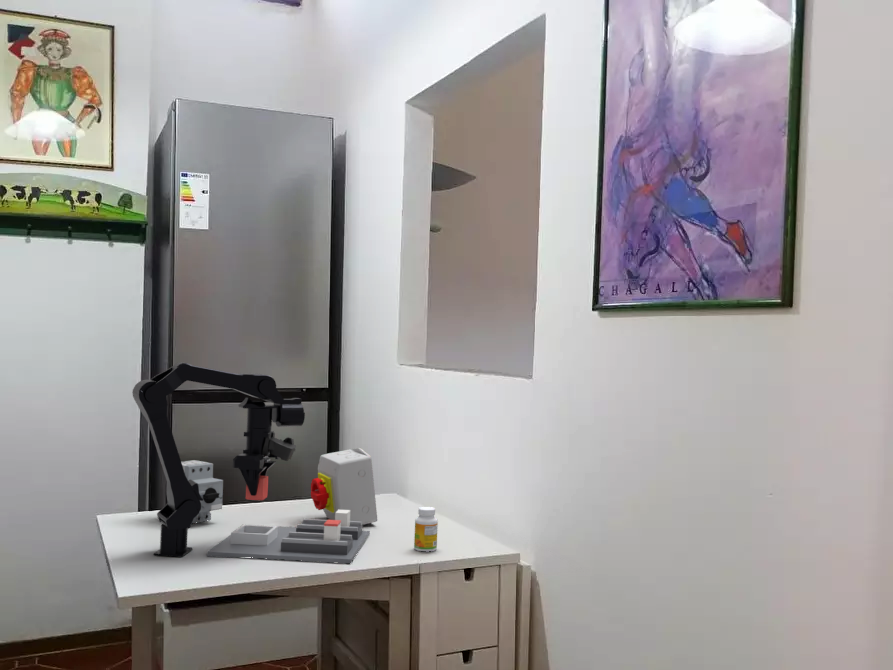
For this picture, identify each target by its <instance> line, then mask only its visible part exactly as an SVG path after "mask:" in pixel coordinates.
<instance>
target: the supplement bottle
mask: <svg viewBox="0 0 893 670" xmlns="http://www.w3.org/2000/svg"><path fill="white" fill-rule="evenodd" d="M417 513H418V516H417V517H416V518H415V520H414V537H413V538H414V539H413V540H414V541H413V548H414V550H415V551H418V552H421V551H426V552H425V553H430V552H429V551H431V552H434V551H436V550H437V548H438V526H439V521H438V519H437V517H436V516H435V515H436V507H432V506H419V507H418V511H417Z"/></svg>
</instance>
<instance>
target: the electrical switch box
mask: <svg viewBox="0 0 893 670" xmlns="http://www.w3.org/2000/svg"><path fill="white" fill-rule="evenodd" d="M373 472H374V471H373V462H372V456H371V455H370V454H369V453H367V452H366V451H365V450H363V449H362V448H361V447H357V448H350V449H345V450H341V451H335V452H334V451H333V452H329V453H325V454H321V455H320V456H319V461H318V465H317V477H316V478H312V480H311V483H310V498H311V499H312V502H313V504H314V507H315V509H316V510H318V511H321V510H322V511H323V512H324V514H325V516H326V518H327V519H328V520H335V513H336V512H337V511H338V509H339V510H350V521H356V522H362V525H363V526H364V525H368V524H372V523H376V522H378V511H377V501H376V493H375V490H376V489H375V482H374V481H375V480H374V473H373Z"/></svg>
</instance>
